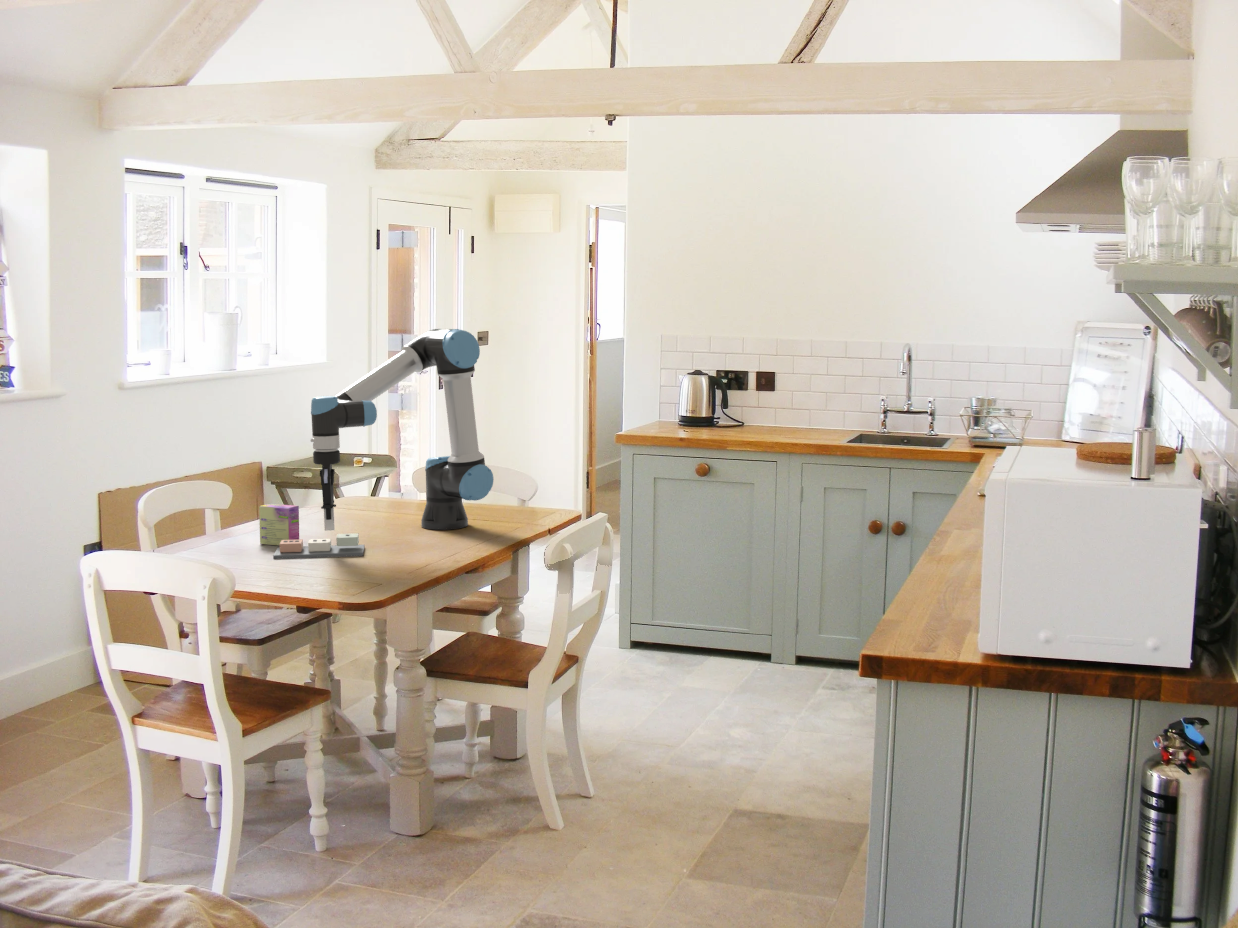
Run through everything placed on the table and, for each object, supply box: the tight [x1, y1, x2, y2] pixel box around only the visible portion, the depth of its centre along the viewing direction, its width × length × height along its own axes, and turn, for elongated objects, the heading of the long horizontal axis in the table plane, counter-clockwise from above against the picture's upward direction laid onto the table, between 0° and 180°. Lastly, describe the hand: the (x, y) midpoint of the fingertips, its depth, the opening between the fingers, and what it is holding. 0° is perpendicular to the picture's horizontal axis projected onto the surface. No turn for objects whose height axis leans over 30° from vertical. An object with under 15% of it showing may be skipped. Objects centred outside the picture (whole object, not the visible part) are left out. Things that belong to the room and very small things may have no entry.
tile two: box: [307, 538, 332, 552], centre depth 349 cm, size 6×6×3 cm
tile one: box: [336, 532, 360, 546], centre depth 350 cm, size 6×6×3 cm
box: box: [258, 503, 300, 547], centre depth 362 cm, size 10×6×12 cm, turn 71°
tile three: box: [279, 538, 304, 552], centre depth 348 cm, size 6×6×3 cm
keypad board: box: [272, 544, 365, 560], centre depth 349 cm, size 25×12×1 cm, turn 100°
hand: (329, 529), depth 349 cm, fingers closed
